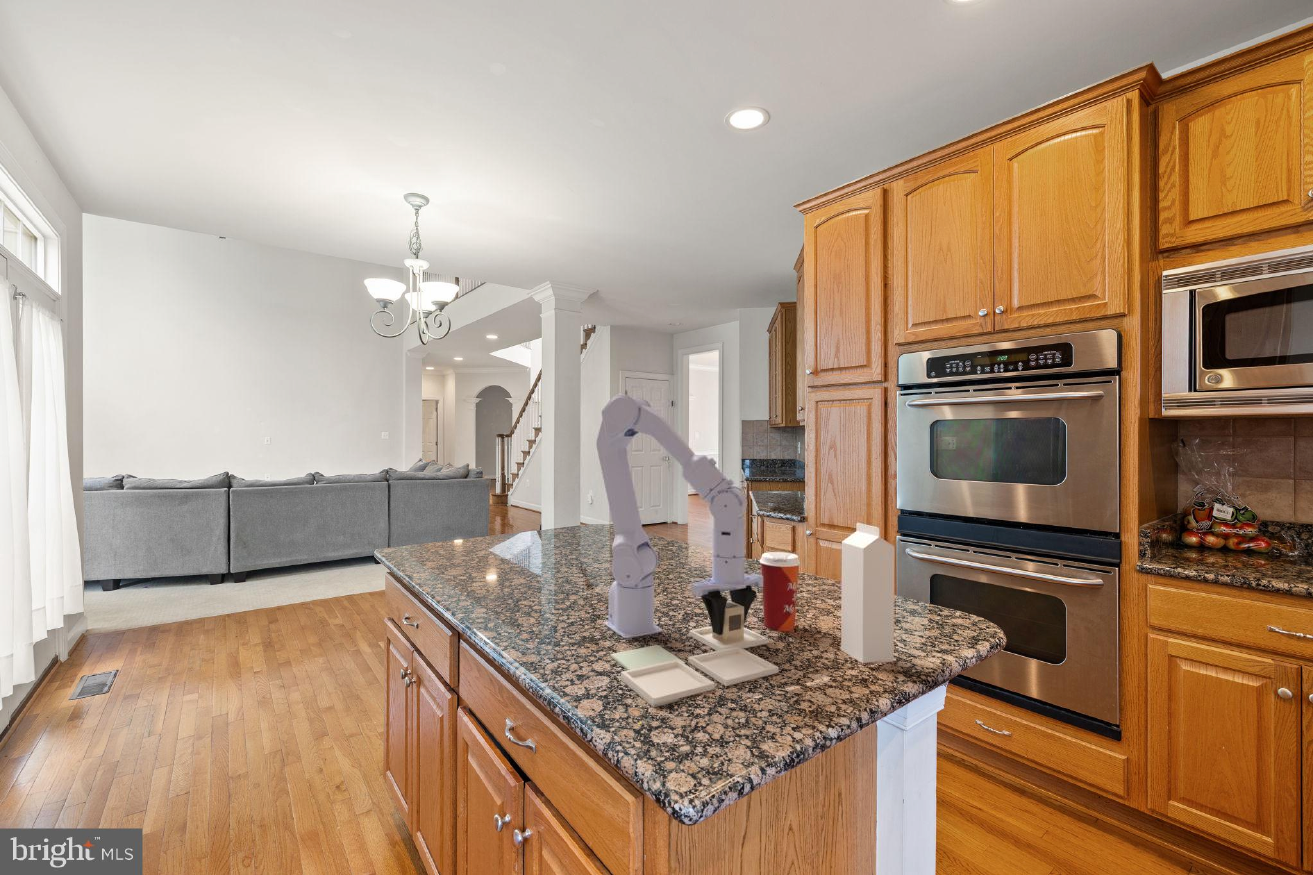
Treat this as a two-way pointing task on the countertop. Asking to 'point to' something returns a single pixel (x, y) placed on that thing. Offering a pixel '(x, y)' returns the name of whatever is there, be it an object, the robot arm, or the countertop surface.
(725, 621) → the letter block
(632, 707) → the countertop surface
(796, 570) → the paper cup
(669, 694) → the dish
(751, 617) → the countertop surface
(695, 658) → the dish
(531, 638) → the countertop surface
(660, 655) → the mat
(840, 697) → the countertop surface
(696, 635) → the dish
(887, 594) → the milk
